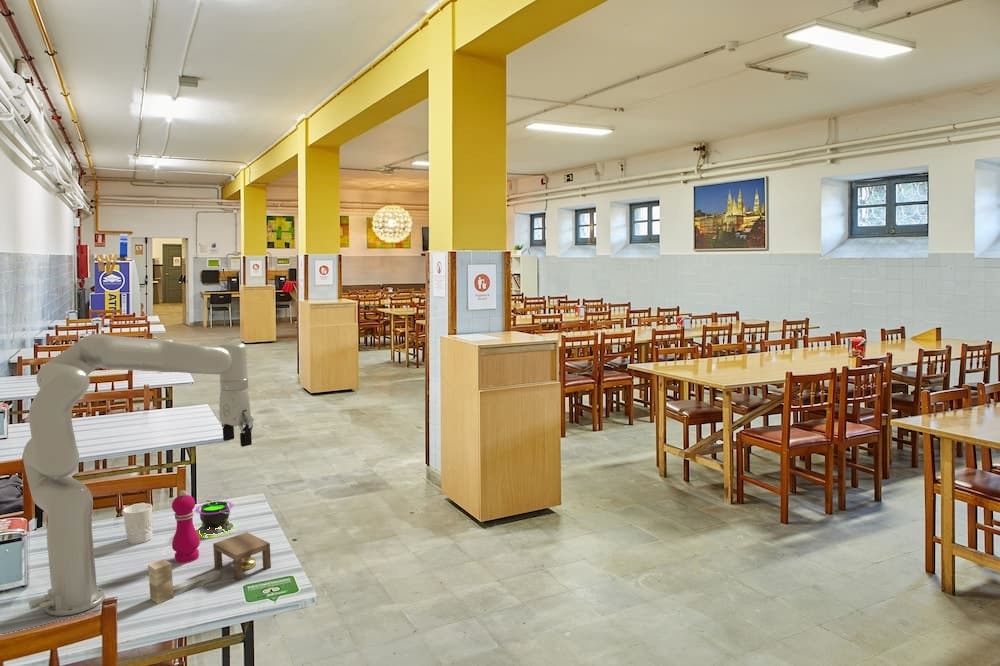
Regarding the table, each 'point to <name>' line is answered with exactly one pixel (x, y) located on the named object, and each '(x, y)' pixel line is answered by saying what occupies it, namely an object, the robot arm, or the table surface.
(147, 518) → the white cup
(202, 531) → the toy cauldron
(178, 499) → the pepper mill
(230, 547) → the small wooden table
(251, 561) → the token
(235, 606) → the table surface
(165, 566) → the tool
